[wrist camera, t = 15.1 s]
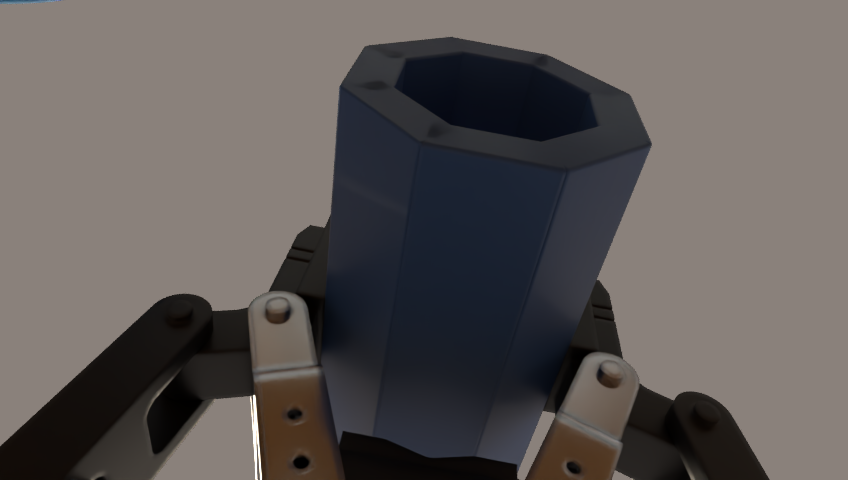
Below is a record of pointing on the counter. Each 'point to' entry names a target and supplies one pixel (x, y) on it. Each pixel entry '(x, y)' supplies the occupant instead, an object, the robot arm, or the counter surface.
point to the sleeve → (466, 238)
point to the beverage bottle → (24, 1)
